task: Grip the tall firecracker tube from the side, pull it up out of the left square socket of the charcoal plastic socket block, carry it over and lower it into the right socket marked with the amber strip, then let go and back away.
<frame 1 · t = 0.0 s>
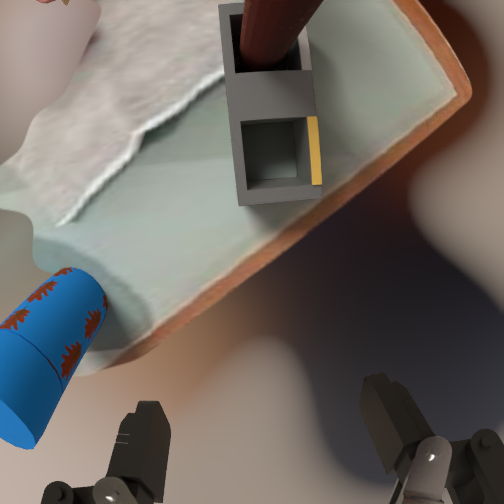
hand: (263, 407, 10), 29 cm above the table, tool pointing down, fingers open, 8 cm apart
thermos: (78, 298, 40), on the table
firecracker: (258, 59, 31), resting in socket block
socket block: (263, 103, 33), on the table
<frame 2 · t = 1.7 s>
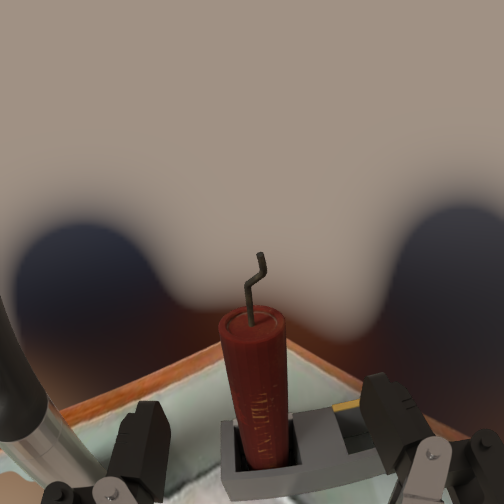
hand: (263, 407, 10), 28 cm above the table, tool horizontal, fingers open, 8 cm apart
firecracker: (269, 471, 31), resting in socket block
socket block: (315, 463, 31), on the table
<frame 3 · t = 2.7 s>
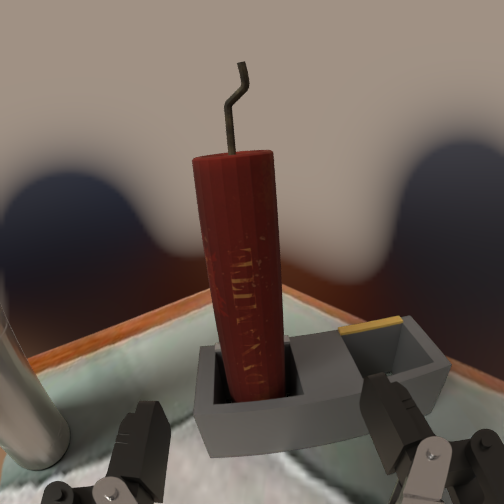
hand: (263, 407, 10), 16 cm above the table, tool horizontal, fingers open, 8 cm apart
firecracker: (261, 420, 27), resting in socket block
socket block: (320, 410, 27), on the table
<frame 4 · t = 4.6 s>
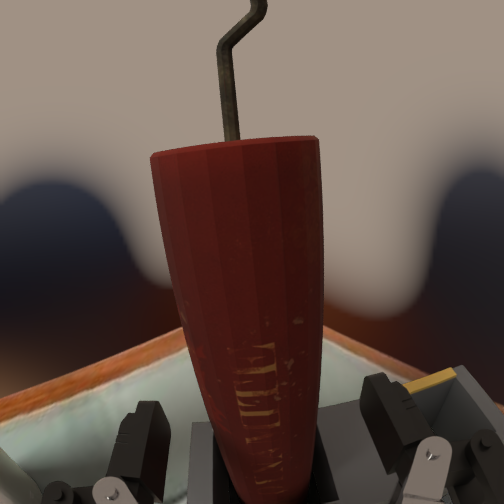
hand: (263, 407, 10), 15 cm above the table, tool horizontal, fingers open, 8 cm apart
firecracker: (274, 503, 17), resting in socket block
socket block: (349, 487, 17), on the table
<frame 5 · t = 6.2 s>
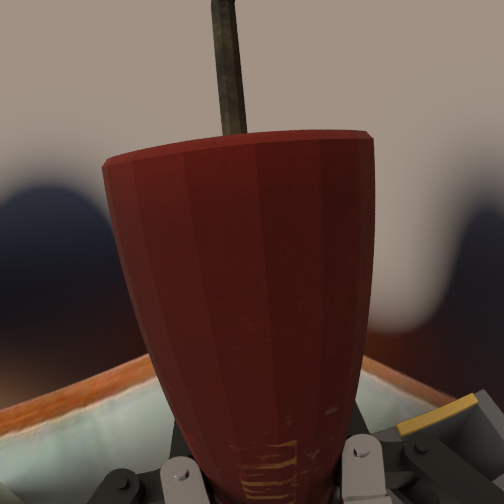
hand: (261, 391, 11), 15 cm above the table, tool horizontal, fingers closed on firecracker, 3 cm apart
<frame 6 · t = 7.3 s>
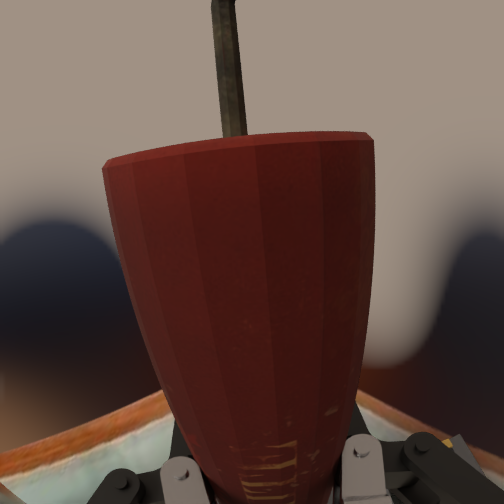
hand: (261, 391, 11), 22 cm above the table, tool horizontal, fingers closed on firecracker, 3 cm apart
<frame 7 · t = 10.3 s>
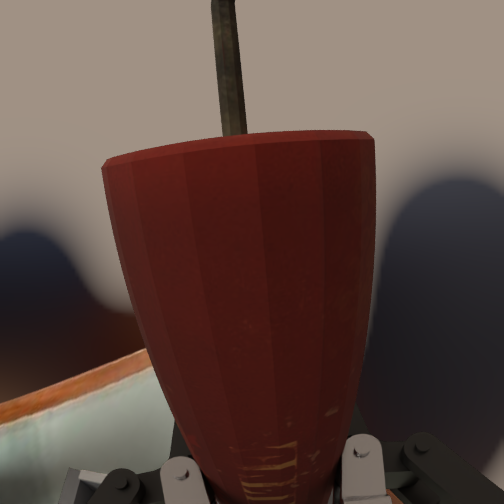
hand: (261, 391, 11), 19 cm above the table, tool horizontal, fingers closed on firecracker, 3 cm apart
when the fingers open (16 cm above the table, at t = 11.3 s): firecracker drops 1 cm, resting in socket block.
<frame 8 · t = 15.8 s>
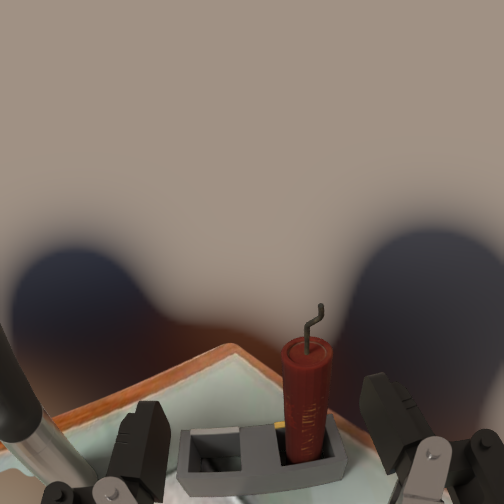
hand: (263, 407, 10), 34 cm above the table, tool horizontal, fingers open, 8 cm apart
firecracker: (302, 466, 36), resting in socket block
socket block: (262, 470, 36), on the table
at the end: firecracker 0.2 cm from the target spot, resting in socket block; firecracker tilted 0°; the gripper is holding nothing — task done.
